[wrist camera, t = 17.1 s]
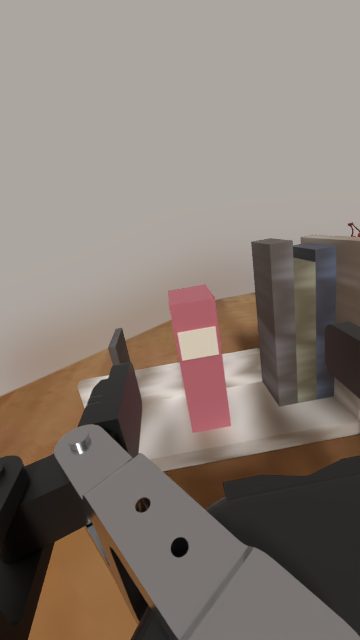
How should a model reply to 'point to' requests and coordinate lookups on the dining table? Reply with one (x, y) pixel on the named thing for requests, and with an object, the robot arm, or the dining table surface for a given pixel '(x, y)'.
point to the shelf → (246, 397)
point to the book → (200, 357)
